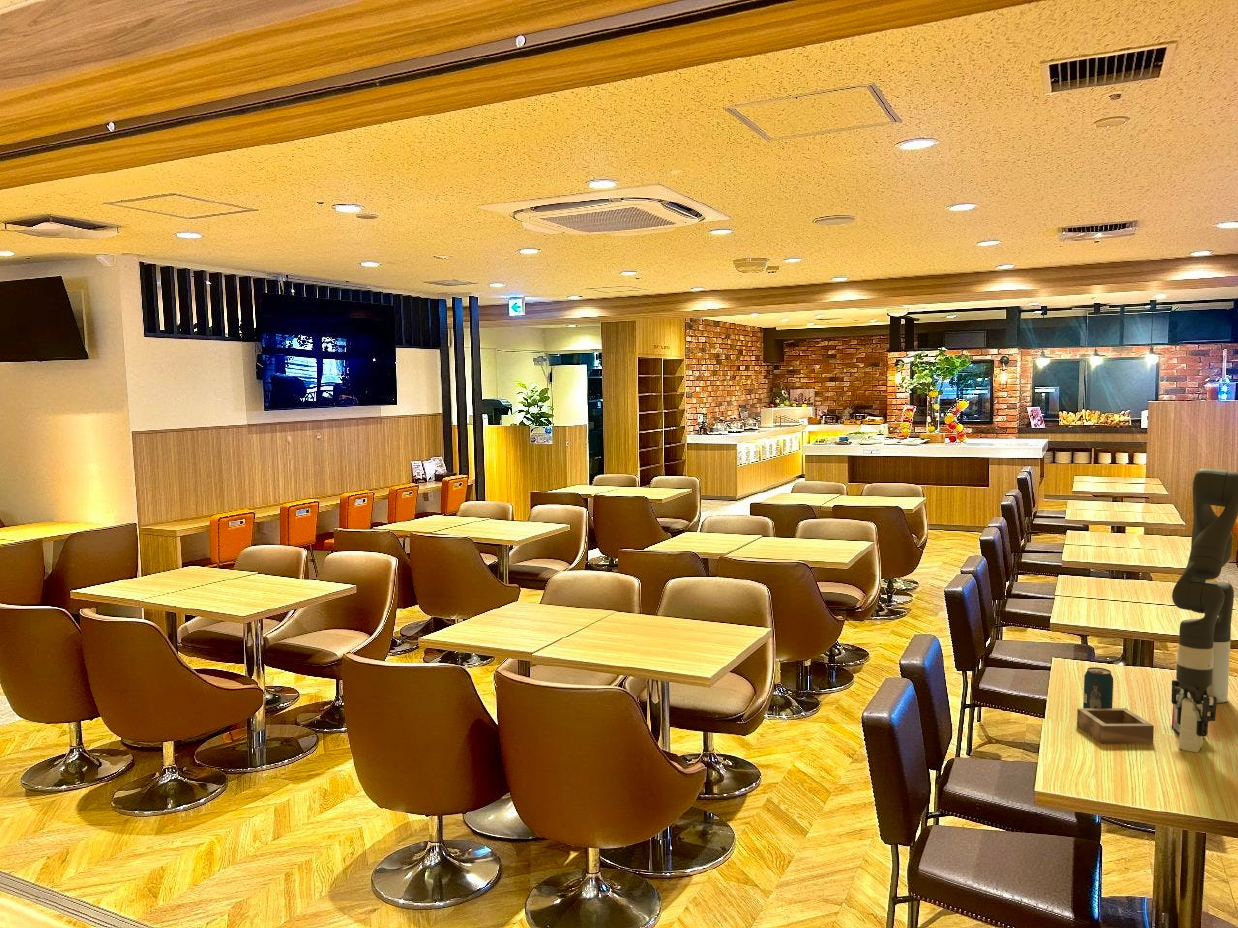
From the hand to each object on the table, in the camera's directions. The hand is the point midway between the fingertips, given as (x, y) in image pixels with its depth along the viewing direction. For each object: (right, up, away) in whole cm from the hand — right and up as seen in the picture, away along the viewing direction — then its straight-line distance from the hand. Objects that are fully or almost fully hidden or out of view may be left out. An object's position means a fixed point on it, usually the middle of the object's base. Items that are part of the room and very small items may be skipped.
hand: (1191, 729), depth 227 cm
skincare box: (0, -5, 0) cm, 5 cm away
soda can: (-11, -3, +24) cm, 26 cm away
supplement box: (+5, -4, +11) cm, 12 cm away
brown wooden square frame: (-14, -4, +9) cm, 17 cm away
